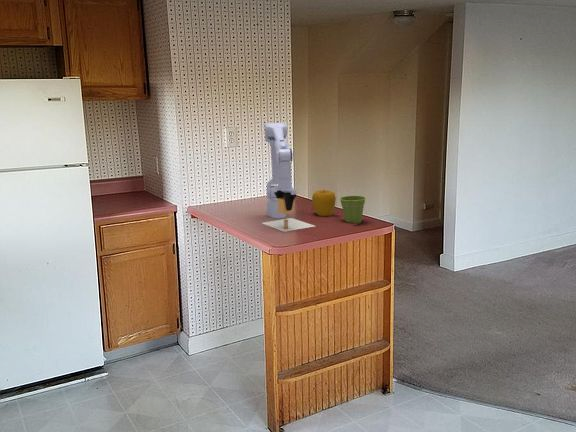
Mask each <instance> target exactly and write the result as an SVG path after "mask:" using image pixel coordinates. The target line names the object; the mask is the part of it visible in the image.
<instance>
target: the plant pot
mask: <svg viewBox="0 0 576 432" xmlns="http://www.w3.org/2000/svg"><path fill="white" fill-rule="evenodd" d="M366 199H367V197H366V196H364V195H345V196H341V197H339V201H340V204H341V207H342V213H343V218H344V221H345V222H347V223H352V224H356V225H359V224H361V222H362V219H363V212H364V205H365V203H366Z"/></svg>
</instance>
